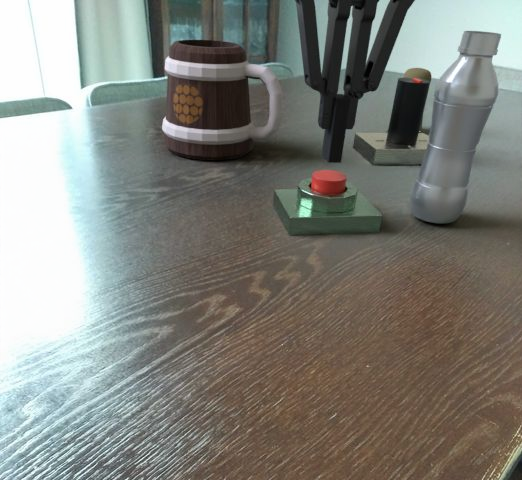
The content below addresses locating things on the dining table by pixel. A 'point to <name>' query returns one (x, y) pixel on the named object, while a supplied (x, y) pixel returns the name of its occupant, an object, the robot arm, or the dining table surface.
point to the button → (328, 182)
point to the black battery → (407, 110)
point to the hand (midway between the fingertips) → (331, 158)
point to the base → (390, 149)
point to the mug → (214, 100)
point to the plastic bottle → (456, 129)
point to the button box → (325, 211)
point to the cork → (419, 74)
